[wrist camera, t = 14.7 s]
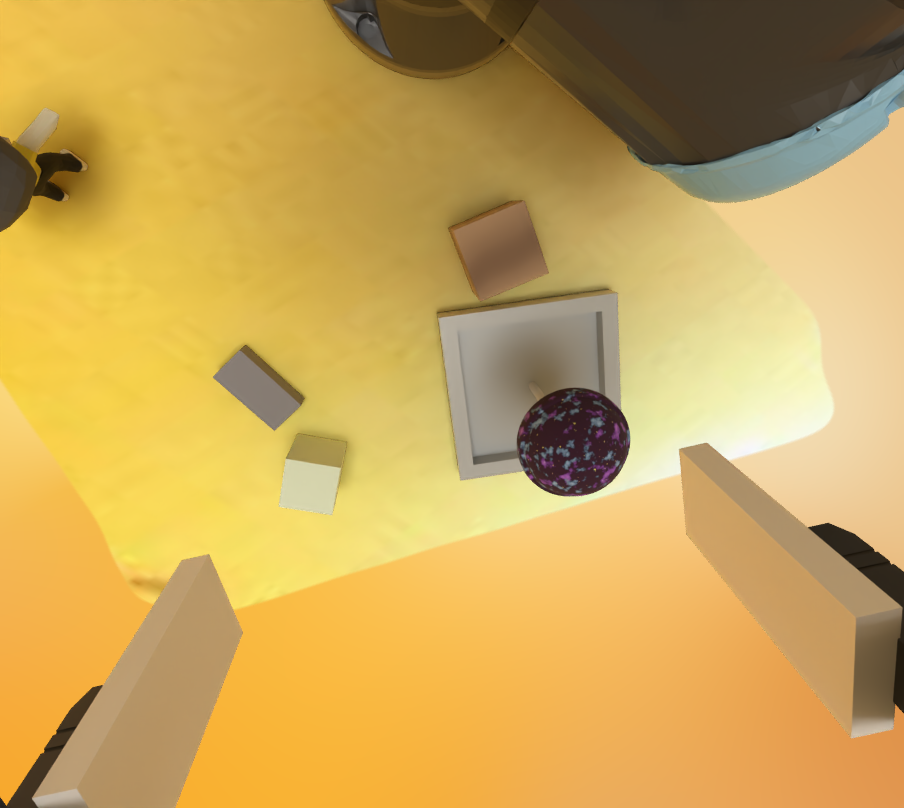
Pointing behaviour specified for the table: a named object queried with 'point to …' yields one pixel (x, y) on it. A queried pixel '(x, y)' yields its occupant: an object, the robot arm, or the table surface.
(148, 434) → the table surface
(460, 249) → the walnut cube
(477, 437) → the tray
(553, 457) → the lollipop
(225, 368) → the rubber eraser
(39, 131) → the toy
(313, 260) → the table surface
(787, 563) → the robot arm
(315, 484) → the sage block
